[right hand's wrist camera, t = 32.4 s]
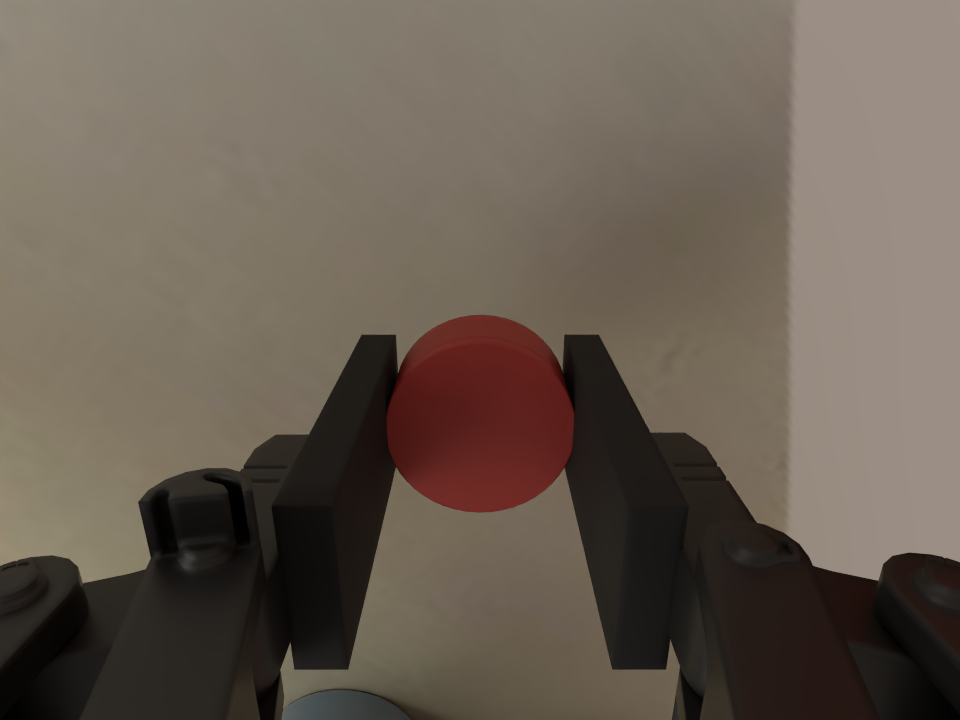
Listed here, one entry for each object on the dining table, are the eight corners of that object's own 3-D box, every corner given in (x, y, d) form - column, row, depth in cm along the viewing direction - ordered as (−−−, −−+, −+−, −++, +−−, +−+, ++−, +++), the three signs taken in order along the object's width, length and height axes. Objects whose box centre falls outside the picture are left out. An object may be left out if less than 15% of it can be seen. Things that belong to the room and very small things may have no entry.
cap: (483, 277, 13) (483, 302, 12) (599, 397, 14) (615, 435, 13) (361, 391, 14) (345, 429, 13) (477, 495, 15) (477, 544, 14)
